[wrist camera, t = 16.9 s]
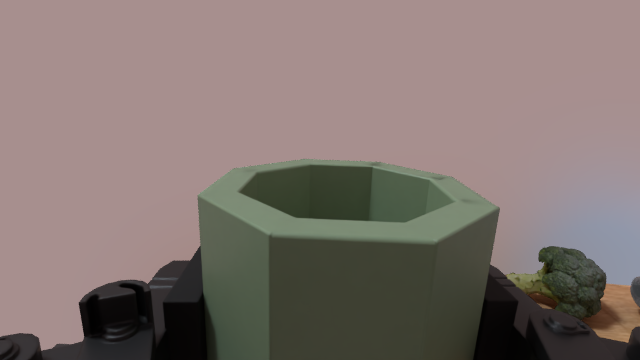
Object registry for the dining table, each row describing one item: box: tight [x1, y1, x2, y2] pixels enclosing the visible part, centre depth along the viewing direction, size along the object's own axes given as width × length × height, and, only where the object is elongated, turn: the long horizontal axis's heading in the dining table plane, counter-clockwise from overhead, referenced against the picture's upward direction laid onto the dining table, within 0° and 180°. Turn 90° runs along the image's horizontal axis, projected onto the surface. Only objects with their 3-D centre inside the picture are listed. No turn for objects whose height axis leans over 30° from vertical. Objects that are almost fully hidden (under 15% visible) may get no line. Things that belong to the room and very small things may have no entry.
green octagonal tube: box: [198, 159, 500, 360], centre depth 9 cm, size 6×6×9 cm
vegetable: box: [506, 246, 606, 320], centre depth 58 cm, size 12×13×15 cm
